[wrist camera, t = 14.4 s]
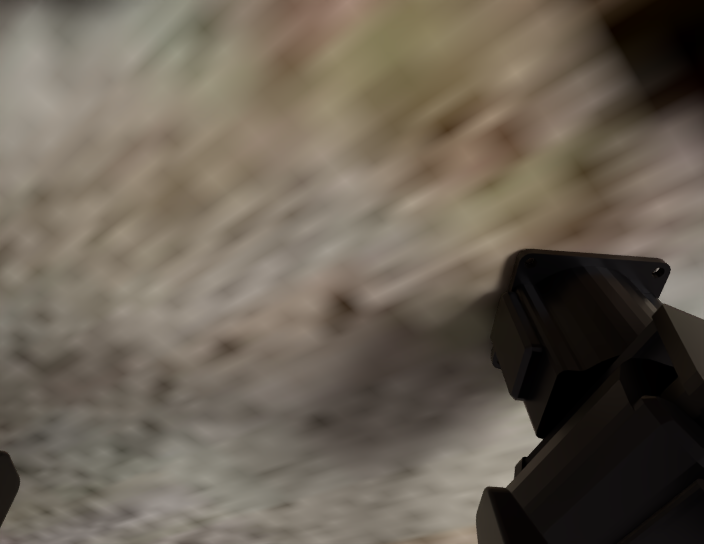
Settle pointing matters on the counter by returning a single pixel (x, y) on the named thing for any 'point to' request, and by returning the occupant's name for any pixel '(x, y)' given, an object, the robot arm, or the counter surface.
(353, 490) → the counter surface
